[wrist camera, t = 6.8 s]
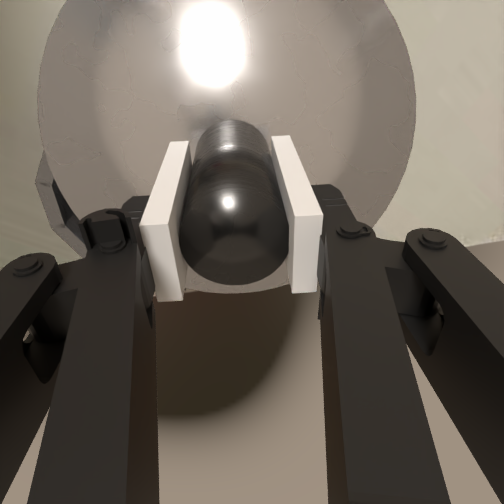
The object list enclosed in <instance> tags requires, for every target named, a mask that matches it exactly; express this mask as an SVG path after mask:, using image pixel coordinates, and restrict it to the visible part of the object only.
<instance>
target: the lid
mask: <svg viewBox="0 0 504 504" xmlns="http://www.w3.org/2000/svg"><path fill="white" fill-rule="evenodd" d="M38 120H39V126H40V132H41V138H42V144H43V148H44V151H45V154H46V157H47V161H48V164H49V167H50V170H51V172H52V174H53V176H54V179H55V181H56V183H57V185H58V188H59V190H60V191H61V193H62V195H63V196H64V198H65V200H66V201H67V203H68V205H69V206H70V208H71V210H72V211H73V212H74V213H75V215H76V216H77V217H78V219H79V220H81V219H82V218H83V217H85V216H86V215H88V214H90V213H93V212H95V211H98V210H102V209H108V208H118V209H121V208H122V205H123V204H124V203H125V202H126V201H127V200H129V199H130V198H131V197H132V196H147V195H151V192H152V189H153V187H154V184H155V181H156V179H157V176H158V173H159V171H160V168H161V165H162V163H163V160H164V157H165V154H166V152H167V149H168V146H169V144H170V142H175V141H189V145H190V153H191V160H192V171H191V176H190V182H189V187H188V192H187V197H186V202H185V207H184V212H183V217H182V223H181V228H180V233H179V245H180V250H181V253H182V255H183V258H184V259H185V261H186V263H187V264H188V268H187V275H186V282H185V288H187V289H192V290H198V291H204V292H213V293H248V292H257V291H263V290H268V289H272V288H277V287H281V286H284V285H287V284H290V281H289V276H288V271H287V267H286V262H285V259H286V257H287V255H288V252H289V223H288V220H287V216H286V212H285V208H284V204H283V200H282V196H281V193H280V189H279V185H278V181H277V177H276V173H275V170H274V166H273V162H272V158H271V136H286V135H290V137H291V140H292V142H293V144H294V147H295V149H296V152H297V154H298V156H299V159H300V161H301V163H302V166H303V168H304V171H305V173H306V175H307V178H308V180H309V182H310V185H320V184H331V185H333V186H334V187H336V188H338V189H339V190H340V191H341V193H342V195H343V197H344V199H345V200H346V202H347V205H348V206H349V207H350V209H351V211H352V213H353V215H354V216H355V218H356V220H357V221H359V222H362V223H365V224H367V225H368V226H370V227H371V228H372V227H373V226H374V225H375V224H376V222H377V221H378V220H379V218H380V217H381V216H382V214H383V213H384V211H385V210H386V209H387V207H388V205H389V203H390V202H391V200H392V198H393V196H394V195H395V193H396V191H397V189H398V187H399V184H400V182H401V179H402V177H403V175H404V172H405V170H406V167H407V163H408V160H409V156H410V152H411V149H412V144H413V137H414V131H415V124H416V93H415V84H414V75H413V70H412V66H411V62H410V58H409V54H408V50H407V47H406V44H405V42H404V39H403V37H402V35H401V32H400V30H399V27H398V25H397V22H396V20H395V19H394V17H393V15H392V14H391V12H390V10H389V9H388V7H387V5H386V4H385V2H384V0H67V1H66V2H65V4H64V5H63V7H62V8H61V10H60V12H59V14H58V16H57V19H56V21H55V23H54V25H53V28H52V30H51V32H50V34H49V37H48V40H47V43H46V47H45V51H44V55H43V58H42V62H41V67H40V75H39V84H38Z"/></svg>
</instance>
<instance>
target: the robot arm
mask: <svg viewBox="0 0 504 504" xmlns="http://www.w3.org/2000/svg"><path fill="white" fill-rule="evenodd" d="M271 158H272V162H273V166H274V170H275V173H276V177H277V181H278V185H279V189H280V193H281V196H282V200H283V204H284V208H285V212H286V216H287V220H288V223H289V252H288V255H287V257H286V259H285V262H286V267H287V271H288V276H289V281H290V286H291V290H292V293H307V292H317V281H319V284H320V287H321V290H320V300H319V312H318V319H320V324H321V346H322V347H321V348H322V370H323V393H324V415H325V436H326V460H327V483H328V504H451V502H450V499H449V495H448V491H447V488H446V484H445V481H444V477H443V474H442V470H441V467H440V463H439V460H438V456H437V453H436V449H435V445H434V442H433V438H432V434H431V431H430V428H429V424H428V420H427V417H426V413H425V410H424V406H423V402H422V399H421V395H420V392H419V389H418V385H417V381H416V378H415V374H414V371H413V367H412V364H411V360H410V356H409V352H408V349H407V345H408V347H409V349H410V351H411V352H412V354H413V356H414V357H415V359H416V360H417V362H418V364H419V366H420V367H421V369H422V371H423V372H424V374H425V376H426V377H427V379H428V381H429V382H430V384H431V386H432V387H433V389H434V391H435V392H436V394H437V396H438V397H439V399H440V401H441V403H442V404H443V406H444V408H445V409H446V411H447V413H448V414H449V416H450V418H451V419H452V421H453V423H454V424H455V426H456V428H457V429H458V431H459V433H460V434H461V436H462V438H463V440H464V441H465V443H466V445H467V446H468V448H469V450H470V451H471V453H472V455H473V456H474V458H475V460H476V461H477V463H478V465H479V466H480V468H481V470H482V471H483V473H484V475H485V476H486V478H487V480H488V481H489V483H490V485H491V487H492V488H493V490H494V492H495V493H496V495H497V497H498V498H499V500H500V502H501V503H502V504H504V284H503V283H502V282H501V281H500V280H499V279H498V278H497V277H496V276H495V275H494V274H493V273H492V272H491V271H489V270H488V269H487V268H486V267H485V266H484V265H483V264H482V263H481V262H480V261H479V260H478V259H477V258H476V257H475V256H474V255H473V254H472V253H470V251H468V250H467V249H466V248H465V247H464V246H463V245H462V244H461V243H460V242H459V241H458V240H457V239H456V238H454V237H453V236H451V235H450V234H448V233H445V232H443V231H441V230H438V229H432V228H420V229H415V230H412V231H410V232H409V233H408V234H407V236H406V240H405V242H398V241H390V240H384V239H380V238H377V237H376V235H375V232H374V231H373V229H372V228H371V227H370V226H368V225H367V224H365V223H362V222H359V221H357V220H356V218H355V216H354V215H353V213H352V211H351V209H350V207H349V206H348V205H347V202H346V200H345V199H344V197H343V195H342V193H341V191H340V190H339V189H338V188H336V187H334V186H333V185H331V184H320V185H310V182H309V180H308V178H307V175H306V173H305V171H304V168H303V166H302V163H301V161H300V159H299V156H298V154H297V152H296V149H295V147H294V144H293V142H292V140H291V137H290V135H286V136H271ZM191 171H192V160H191V153H190V145H189V141H175V142H170V144H169V146H168V149H167V152H166V154H165V157H164V160H163V163H162V165H161V168H160V171H159V173H158V176H157V179H156V181H155V184H154V187H153V189H152V192H151V195H147V196H132V197H131V198H130V199H129V200H127V201H126V202H125V203H124V204H123V205H122V208H121V209H118V208H108V209H102V210H98V211H95V212H93V213H90V214H88V215H86V216H85V217H83V218H82V219H81V220H80V221H79V223H78V226H79V229H80V232H81V235H82V238H83V240H84V243H85V246H86V249H87V253H86V257H85V258H83V259H79V260H76V261H72V262H68V263H64V264H60V265H58V264H57V262H56V260H55V257H54V256H52V255H51V254H49V253H34V254H27V255H23V256H21V257H19V258H17V259H15V260H13V261H11V262H10V263H8V264H7V265H6V266H5V267H4V268H2V270H1V271H0V504H2V501H3V499H4V498H5V495H6V493H7V492H8V489H9V487H10V485H11V483H12V482H13V480H14V478H15V475H16V473H17V472H18V469H19V467H20V465H21V463H22V461H23V459H24V457H25V455H26V453H27V451H28V449H29V447H30V445H31V443H32V441H33V439H34V437H35V435H36V433H37V431H38V429H39V427H40V425H41V423H42V421H43V419H44V417H45V415H46V413H47V411H48V409H49V407H50V409H49V413H48V417H47V421H46V426H45V430H44V434H43V438H42V443H41V447H40V451H39V455H38V459H37V464H36V468H35V472H34V477H33V481H32V485H31V489H30V493H29V497H28V502H27V504H159V467H158V465H159V464H158V422H157V421H158V419H157V418H158V417H157V372H156V324H155V309H154V305H153V301H152V299H153V295H154V290H155V292H156V296H157V300H158V302H165V301H181V300H183V296H184V289H185V282H186V275H187V268H188V264H187V263H186V261H185V259H184V258H183V255H182V253H181V250H180V245H179V233H180V228H181V223H182V217H183V212H184V207H185V202H186V197H187V192H188V187H189V182H190V176H191ZM27 330H28V331H29V333H30V334H29V335H28V337H27V339H26V340H25V341H23V338H24V336H25V334H26V332H27ZM406 344H407V345H406Z"/></svg>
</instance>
